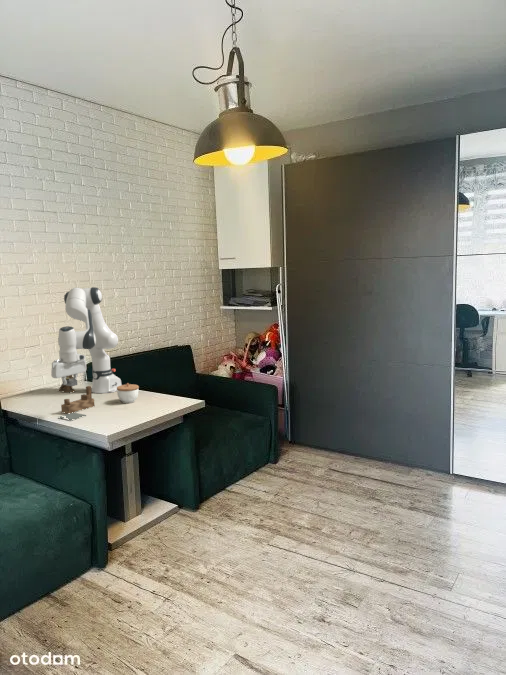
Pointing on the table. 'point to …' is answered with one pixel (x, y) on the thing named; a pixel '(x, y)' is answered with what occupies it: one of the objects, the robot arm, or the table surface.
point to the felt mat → (73, 416)
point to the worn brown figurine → (65, 387)
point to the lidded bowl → (128, 393)
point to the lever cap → (70, 382)
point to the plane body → (79, 402)
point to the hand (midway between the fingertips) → (70, 383)
